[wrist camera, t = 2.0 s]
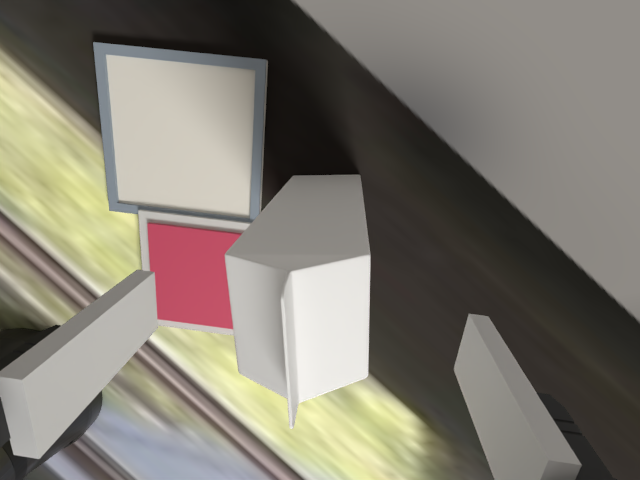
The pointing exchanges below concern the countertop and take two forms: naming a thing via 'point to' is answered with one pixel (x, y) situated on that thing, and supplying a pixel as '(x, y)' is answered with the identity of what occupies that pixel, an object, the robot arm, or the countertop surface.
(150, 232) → the ink pad
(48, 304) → the countertop surface
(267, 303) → the milk
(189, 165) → the marked square
